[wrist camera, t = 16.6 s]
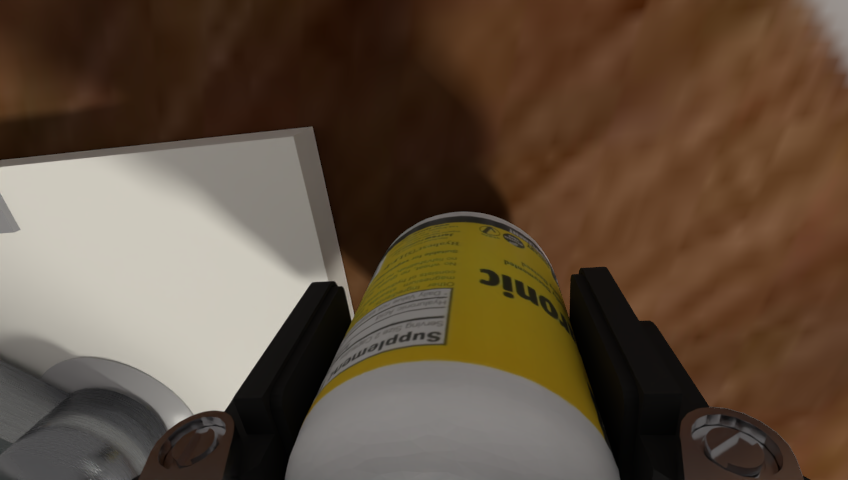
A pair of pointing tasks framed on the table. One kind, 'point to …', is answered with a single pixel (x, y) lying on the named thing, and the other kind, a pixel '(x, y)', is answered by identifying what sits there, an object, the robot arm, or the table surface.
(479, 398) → the supplement bottle
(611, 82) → the table surface
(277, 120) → the table surface
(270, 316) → the dial plate
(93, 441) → the grey lever handle
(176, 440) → the robot arm
